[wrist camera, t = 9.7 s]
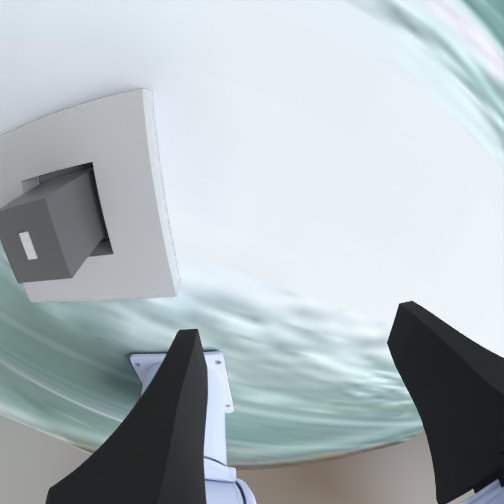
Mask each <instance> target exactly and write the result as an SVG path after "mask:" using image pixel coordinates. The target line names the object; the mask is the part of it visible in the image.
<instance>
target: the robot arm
mask: <svg viewBox="0 0 504 504" xmlns="http://www.w3.org/2000/svg"><path fill="white" fill-rule="evenodd" d="M387 344H388V347H389V350H390V353H391V355H392V358H393V361H394V363H395V366H396V368H397V370H398V372H399V374H400V376H401V378H402V380H403V382H404V384H405V386H406V388H407V390H408V391H409V393H410V395H411V397H412V399H413V401H414V404H415V406H416V408H417V410H418V412H419V415H420V417H421V420H422V423H423V426H424V429H425V432H426V435H427V439H428V443H429V447H430V451H431V456H432V461H433V467H434V473H435V483H436V499H437V502H438V504H447V503H448V502H450V501H452V500H454V499H456V498H458V497H459V496H461V495H463V494H465V493H466V492H468V491H470V490H471V489H474V492H475V494H474V495H473V496H471V497H469V498H468V499H466V500H465V501H463V502H461V503H460V504H504V358H503V357H500V356H499V355H497V354H495V353H493V352H491V351H489V350H487V349H485V348H484V347H482V346H480V345H479V344H477V343H475V342H474V341H472V340H471V339H469V338H467V337H466V336H464V335H463V334H461V333H460V332H458V331H457V330H455V329H454V328H452V327H451V326H449V325H448V324H447V323H445V322H444V321H442V320H441V319H439V318H438V317H436V316H435V315H434V314H432V313H431V312H429V311H428V310H426V309H425V308H423V307H422V306H420V305H418V304H417V303H415V302H413V301H410V302H405V303H400V304H399V306H398V310H397V313H396V317H395V320H394V323H393V326H392V329H391V332H390V336H389V339H388V341H387ZM217 360H218V361H217ZM130 361H131V363H132V365H133V367H134V369H135V371H136V373H137V375H138V377H139V379H140V380H141V382H142V384H143V387H142V392H141V397H140V399H139V401H138V402H137V403H136V405H135V406H134V408H133V409H132V410H131V412H130V413H129V414H128V416H127V417H126V418H125V419H124V421H123V422H122V423H121V424H120V426H119V427H118V428H117V429H116V430H115V431H114V432H113V434H112V435H111V436H110V437H109V438H108V439H107V440H106V441H105V442H104V444H103V445H102V446H101V447H100V448H99V449H98V450H97V451H95V452H94V453H93V454H92V455H91V456H90V457H89V458H88V459H87V460H86V461H85V462H84V463H82V464H81V465H80V466H79V467H78V468H77V469H76V470H74V471H73V472H72V473H70V474H69V475H68V476H66V477H65V478H64V479H62V480H61V481H59V482H58V483H57V484H55V485H54V486H52V487H51V488H50V489H49V491H48V495H47V498H46V504H256V500H255V497H254V496H253V493H252V492H251V490H250V489H249V487H248V486H247V484H246V483H245V482H244V481H242V480H241V479H236V469H235V468H232V467H227V461H226V439H225V413H231V412H233V411H234V407H233V402H232V397H231V393H230V388H229V383H228V378H227V373H226V368H225V363H224V357H223V354H222V353H221V352H218V351H214V352H203V349H202V344H201V340H200V336H199V332H198V329H188V330H179V331H178V332H177V334H176V337H175V339H174V341H173V343H172V345H171V347H170V349H169V351H168V352H167V354H132V355H131V357H130Z"/></svg>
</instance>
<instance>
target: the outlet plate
mask: <svg viewBox="0 0 504 504" xmlns="http://www.w3.org/2000/svg"><path fill="white" fill-rule="evenodd" d="M89 162H93V168H94V173H95V179H96V184H97V189H98V193H99V198H100V203H101V207H102V211H103V215H104V220H105V224H106V227H107V231H108V235H109V239H110V241H105V242H99V243H98V245H97V246H96V247H95V249H94V250H93V251H92V252H91V254H90V255H89V256H88V258H87V259H86V260H85V262H84V263H83V264H82V266H81V267H80V268H79V270H78V271H77V272H76V274H75V275H74V277H73V278H69V279H59V280H48V281H37V282H26V283H22V285H23V287H24V289H25V291H26V293H27V295H28V298H29V300H30V302H71V301H101V300H123V299H142V298H159V297H175V296H177V292H178V287H179V283H180V274H179V270H178V265H177V260H176V255H175V250H174V245H173V240H172V234H171V229H170V223H169V218H168V212H167V206H166V200H165V194H164V187H163V181H162V174H161V167H160V159H159V152H158V144H157V135H156V126H155V117H154V107H153V96H152V90H148V89H143V88H142V89H137V90H132V91H128V92H124V93H120V94H115V95H112V96H108V97H104V98H100V99H97V100H93V101H90V102H86V103H83V104H80V105H77V106H74V107H71V108H68V109H65V110H62V111H59V112H56V113H53V114H51V115H48V116H45V117H43V118H40V119H38V120H35V121H33V122H30V123H28V124H26V125H23V126H21V127H19V128H16V129H14V130H12V131H10V132H8V133H6V134H3V135H1V136H0V208H2V207H3V206H5V205H6V204H8V203H10V202H11V201H13V200H14V199H16V198H18V197H19V196H21V195H22V194H24V193H26V192H27V191H29V190H31V189H33V188H34V187H36V186H38V185H40V182H39V177H38V176H40V175H43V174H47V173H50V172H54V171H57V170H61V169H65V168H69V167H73V166H77V165H81V164H85V163H89Z"/></svg>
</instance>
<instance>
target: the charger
mask: <svg viewBox="0 0 504 504" xmlns="http://www.w3.org/2000/svg"><path fill="white" fill-rule="evenodd" d="M107 232H108V231H107V227H106V224H105V220H104V215H103V211H102V207H101V203H100V198H99V193H98V189H97V184H96V179H95V173H94V168H89V169H85V170H81V171H78V172H74V173H70V174H66V175H63V176H59V177H56V178H53V179H49V180H47V181H45V182H43V183H41V184H40V185H38V186H36V187H34V188H33V189H31V190H29V191H27V192H26V193H24V194H22V195H21V196H19V197H18V198H16V199H14V200H13V201H11V202H10V203H8V204H6V205H5V206H3V207H2V208H0V239H1V242H2V245H3V247H4V250H5V253H6V255H7V258H8V260H9V263H10V265H11V268H12V270H13V272H14V274H15V277H16V279H17V281H18V283H26V282H37V281H48V280H59V279H69V278H73V277H74V275H75V274H76V272H77V271H78V270H79V268H80V267H81V266H82V264H83V263H84V262H85V260H86V259H87V258H88V256H89V255H90V254H91V252H92V251H93V250H94V249H95V247H96V246H97V245H98V243H99V242H100V241H101V240H102V238H103V237H104V236H105V235H106V233H107Z"/></svg>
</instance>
